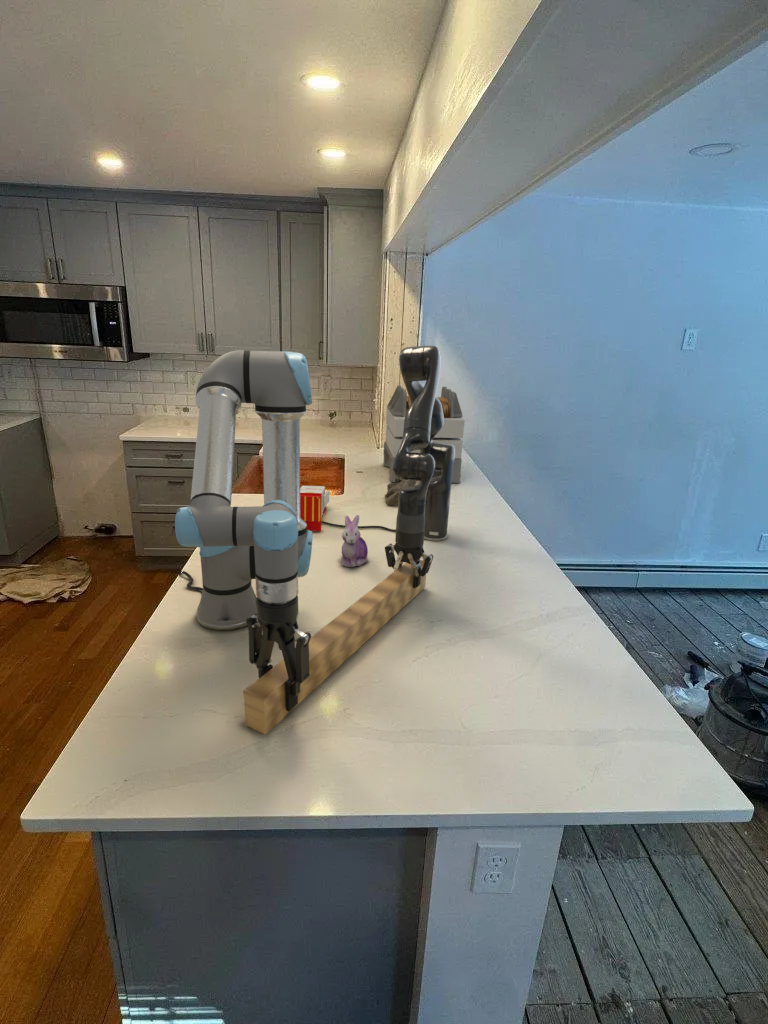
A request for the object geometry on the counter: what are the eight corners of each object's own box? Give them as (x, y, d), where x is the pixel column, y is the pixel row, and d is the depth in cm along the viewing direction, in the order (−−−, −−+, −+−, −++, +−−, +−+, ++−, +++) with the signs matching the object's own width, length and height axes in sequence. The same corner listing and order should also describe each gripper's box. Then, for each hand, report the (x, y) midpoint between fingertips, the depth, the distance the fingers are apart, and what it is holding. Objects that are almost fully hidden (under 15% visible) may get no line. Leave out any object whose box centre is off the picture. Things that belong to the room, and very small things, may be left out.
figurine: (346, 570, 170) (347, 523, 165) (333, 557, 178) (334, 512, 173) (374, 565, 174) (376, 519, 169) (360, 552, 183) (362, 509, 178)
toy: (330, 481, 223) (325, 494, 194) (330, 514, 226) (324, 532, 196) (299, 480, 222) (289, 493, 193) (299, 513, 225) (289, 531, 196)
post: (410, 582, 163) (411, 557, 160) (425, 586, 161) (427, 561, 158) (245, 725, 107) (243, 690, 104) (265, 735, 104) (263, 699, 102)
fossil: (383, 480, 246) (411, 461, 241) (396, 497, 249) (424, 478, 244) (377, 501, 226) (408, 481, 221) (392, 519, 229) (422, 500, 224)
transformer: (382, 463, 289) (386, 382, 275) (445, 464, 293) (451, 384, 279) (390, 482, 257) (394, 392, 243) (460, 483, 261) (468, 394, 247)
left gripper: (224, 590, 104) (230, 695, 112) (305, 619, 95) (305, 730, 103) (252, 575, 110) (256, 675, 118) (330, 601, 102) (329, 707, 110)
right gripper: (379, 525, 149) (377, 583, 155) (428, 537, 142) (424, 597, 148) (393, 516, 155) (390, 572, 161) (441, 528, 149) (436, 586, 155)
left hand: (279, 701), depth 111 cm, fingers open, 5 cm apart
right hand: (406, 584), depth 155 cm, fingers closed on post, 4 cm apart
